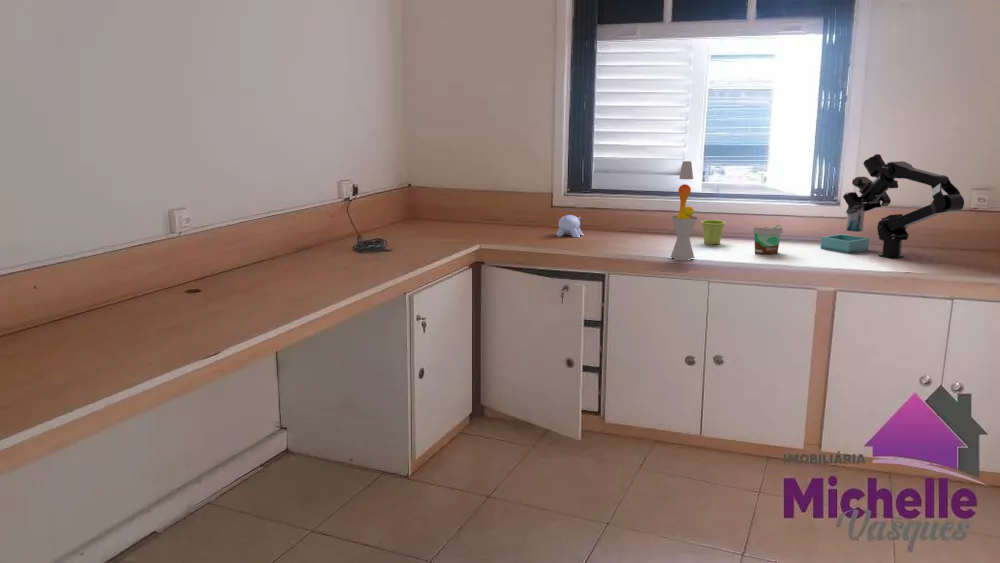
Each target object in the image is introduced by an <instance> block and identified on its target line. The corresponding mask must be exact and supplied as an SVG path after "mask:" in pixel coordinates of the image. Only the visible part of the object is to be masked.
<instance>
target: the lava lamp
mask: <svg viewBox="0 0 1000 563" xmlns="http://www.w3.org/2000/svg"><path fill="white" fill-rule="evenodd" d="M681 162H682V164H681V168H680V173H679V180H693V179H694V176H693V166H692V161H690V160H683V161H681ZM691 192H692V188H691V187H690V185H688V184H686V183H685V184H681V185H680V186H679V187H678V195H679V201H680V204H679V211H678V215H673V216H671V220H672V224H673V226H674V227H673V228H674V230H675V234H676V237H677V238H676V241H675V244H674V247H673V249H672V250H671V251H672V252H671V255H670V257H672V258H674V259H675V261H689V260H688V259H691V258H695V255H694V252H693V246H692V242H691V238H690V237H691V235H692V232H693V230H694V228H695V225H696V222H697V220H698V217H697V216H694V212H695V210H694V208H693V207H692V206H689V205H688V206H686V205H687V200H688V198H689V196H690V194H691ZM674 259H673V260H674Z"/></svg>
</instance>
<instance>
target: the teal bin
mask: <svg viewBox="0 0 1000 563" xmlns="http://www.w3.org/2000/svg"><path fill="white" fill-rule="evenodd" d="M820 240H821V242H820V249H821V250H826V251H832V252H836V253H837V252H838V253H843V254H848V255H849V254H854V253H860V252H865V251H869V244H870V243H869V242H870V238H867V237H862V236H855V235H850V234H844V233H840V234H834V235H833V234H832V235H828V236H827V235H826V236H821V239H820Z"/></svg>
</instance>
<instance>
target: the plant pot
mask: <svg viewBox="0 0 1000 563" xmlns="http://www.w3.org/2000/svg"><path fill="white" fill-rule="evenodd" d="M700 223H701V225H702V226H701V227H702V233H703V234H702V235H703V243H704V244H706V245H714V244H715V245H719V244H721V238H722V234H723V229H724V227H725V224H726V221H724V220H718V219H705V220H701V221H700Z"/></svg>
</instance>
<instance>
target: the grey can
mask: <svg viewBox="0 0 1000 563" xmlns="http://www.w3.org/2000/svg"><path fill="white" fill-rule="evenodd" d="M865 206H866V203H862V204H861V206H860V208H861V209H859V210H857V211H854V212H852V213H850V214H847V213H846V215H847V216H846V218H847V219H846V226H845V231H847V232H858V233H859V232H864V225H865V215H866V212H865Z"/></svg>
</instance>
